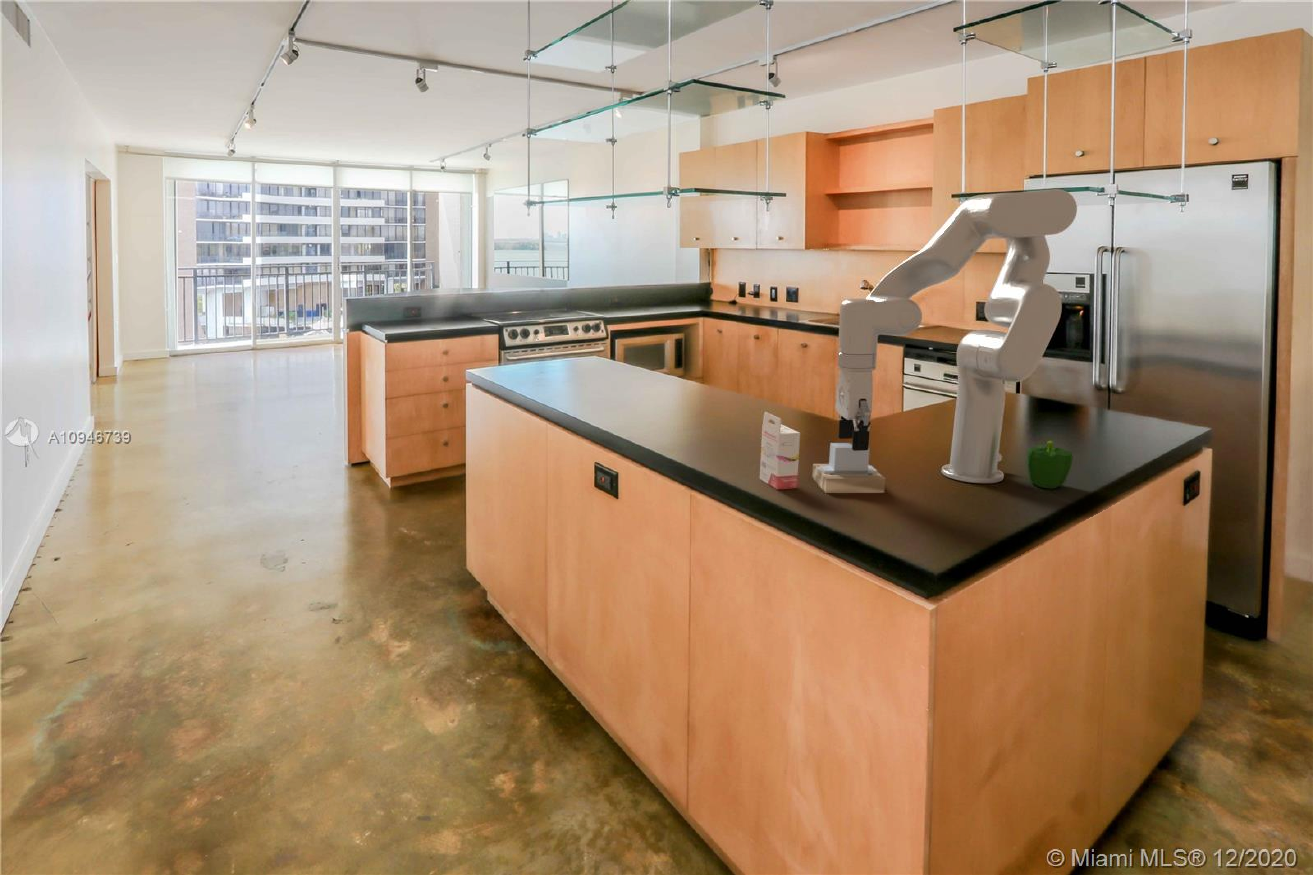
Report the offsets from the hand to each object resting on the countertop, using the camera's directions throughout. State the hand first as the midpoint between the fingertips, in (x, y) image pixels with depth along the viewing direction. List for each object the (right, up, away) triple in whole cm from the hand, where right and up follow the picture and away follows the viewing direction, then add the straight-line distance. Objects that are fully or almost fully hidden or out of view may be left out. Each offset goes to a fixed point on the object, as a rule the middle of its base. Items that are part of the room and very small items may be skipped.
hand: (852, 444), depth 161 cm
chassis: (-1, -9, +2) cm, 9 cm away
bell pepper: (+41, -9, +4) cm, 42 cm away
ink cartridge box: (-15, -8, +2) cm, 17 cm away
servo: (-1, -9, +2) cm, 9 cm away
